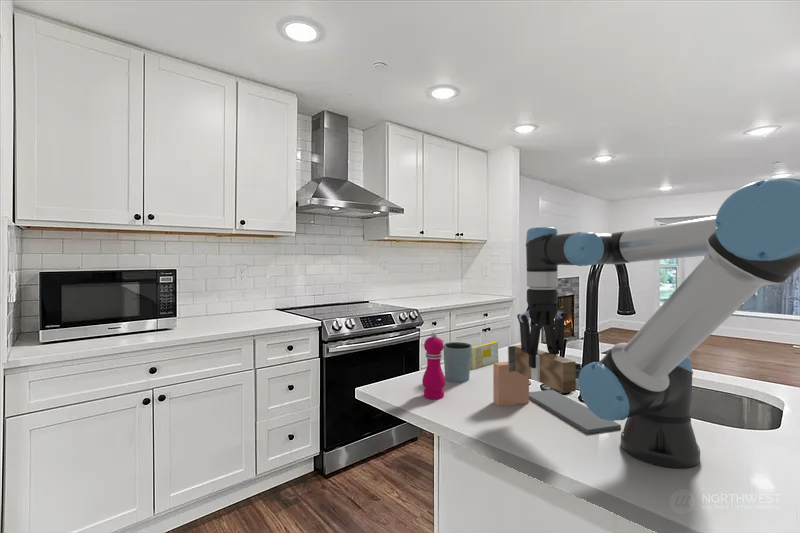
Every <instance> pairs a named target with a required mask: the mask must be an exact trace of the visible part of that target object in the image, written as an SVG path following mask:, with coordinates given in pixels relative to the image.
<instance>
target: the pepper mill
mask: <svg viewBox="0 0 800 533" xmlns="http://www.w3.org/2000/svg"><path fill="white" fill-rule="evenodd" d="M443 345H444V341H443V340H442V339H441V338H440V337H437V333H436V332H435V331H433V332H431V334H430V337H428V338H426V340H425V341H424V344H423V348H424V350H425V351H426V352H425V358H426V369H425V370H424V373H423V376H422V383H421V384H422V387H423V388H424V389H423V396H424V398H426V399H430V400H439V399H443V398H444V396H445V389H444V387H445V386H446V383H447V382H446V379H445V373H444V372H443V369H442V366H441V358H443V356H442V355H443V353H442V352H443V351H444V350H443Z"/></svg>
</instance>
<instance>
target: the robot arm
mask: <svg viewBox="0 0 800 533" xmlns="http://www.w3.org/2000/svg"><path fill="white" fill-rule="evenodd" d="M525 240H526V242H525V250H526V252H525V256H526V259H525V260H526V287H528V288H527V290H526V302H527V303H526V304H527V308H526V310H525V312H523V313H518V314H517V315H516V317H517V319H518V323H519V333H520V345H521V350H522V352H525V353H527V354H528V355H529V367H531V378H530V379H531V380H533V381H535V382H537V383H540V356H539V355H537V352H538V349H539V346H540V345H539V343H540V337H541V331H542V329H544V330H543V331H544V336H545V342H546V349H547V352H548V353H551V354H554V355H559V354H560V351H563V350H564V345H565V344H564V342H565V339H564V338H565V321H566V318H567V316H568V315H567V312H563V311H561V310H559V309H558V306H557V304H558V303H559V300H558V299H559V297H558V296H559V294H558V289H557V287H558V285H559V280H558V276H559V275H558V273H559V272H558V266H559V265H560V266H578V267H584V266H585V267H586V266H592V265H593V266H594V265H595V266H596V265H597V266H598V265H624V264H628V263H637V262H647V261H648V262H649V261H659V260H661V261H663V260H671V259H682V258H685V259H686V258H695V257H697V258H698V257H704V258H703V259H702V261H700V262H699V264H697V266H696V267H695V268H694V270H692V271H691V273H689V274H688V276H687V277H686V278H685V279H684V281H682V283H680V285H679V286H678V287H677V288H676V289H675V291H673V292H672V294H671V295H669V297H668V298H667V299H666V300H665V301H664V302H663V303H662V305H661V306H660V307H659V308H658V309H657V310H656V311H655V312H654V313H653V315H652V316H651V317H650V318H648V320H647V321H646V322H645V324H644V325H643V326H641V327H640V329H639V330H638V331H637V332H636V334H634V335H633V336H632V338H631V339H630V340H629V341H628V342H619V343H618V342H617V343H616V344H615V345H613V346H612V348H611V349H610V350H609V351H608V352H607V353H606V354H605V355H604V357H603V358H601V359H600V360H598V361H592V362H589V363H588V364H586V365H584V366H583V367H582V368H581V370H580V371H579V375H578V380H577V381H578V382H577V384H578V387H579V394H580V396H581V398H582V400H583V403H584V404H585V407H587V408H589V409H590V411H591V412H592V413H594V414H595V415H596V416H598V417H599V418H601V419H604V420H607V421H614V422H616V421H624V420H626V421H625V424H624V428H623V429H622V431H621V434H620V445H621V448H622V449H623V450H624V451H625V453H627V454H628V455H630V456H633V457H634V458H637V459H639V460H640V461H644V462H646V463H649V464H653V465H656V466H659V467H660V466H661V467H667V468H675V469H688V468H692V467H696V466H697V465H699V464H700V462H701V448H700V446H699V444H698V442H697V439H696V435H695V431H694V429H693V426H692V396H693V391H692V390H693V375H694V370H693V362H692V359H691V357H690V356H689V355H691V353H692V352H693V351H695V350H696V349H697V348H698V347H699V346H700V345H701V344H702V343H703V342H704V341H705V340H706V339H708V338H709V337H710V335H712V334H713V333H714V332H715V331H716V330H717V329H718V328H719V327H720V326H721V325H723V323H725V321H727V320H728V318H730V317H731V316H732V315H733V314H734V313H735V312H736V311H738V309H739V308H740V307H742V305H744V303H746V302H747V301H748V300H749V299H750V298H751V297H752V296H754V294H756V292H757V291H758V290H759V289H760V288H762V287H763V286H768V285H773V286H774V285H781V284H783V283H784V282H785V281H786V280H787V279H788V278H789V277H790V276H792V275H793V274H795V272H796V271H797V270H799V269H800V178H799V179H798V178H794V177H793V178H789V177H787V178H786V177H783V178H782V177H780V178H772V179H763V180H758V181H755V182H752V183H751V182H750V183H749V184H746V185H744V186H742V187H740V188H739V189H737V190H736V191H734V192H733V193H732V194H730V195H729V196H728V197H727V198H726V199H724V201H723V202H722V203H721V205H720V207H719V209H718V210H717V213H716V215H715V216H710V217H703V218H697V219H693V220H691V219H689V220H685V221H679V222H673V223H668V224H661V225H655V226H650V227H649V226H648V227H643V228H637V229H631V230H624V231H619V232H612V233H595V232H592V231H591V232H589V231H587V232H586V231H578V232H571V233H561V234H558V229H557V228H556V227H555V226H541V227H540V226H539V227H531V228H528V230H527V231H526V239H525Z"/></svg>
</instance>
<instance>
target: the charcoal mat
mask: <svg viewBox="0 0 800 533" xmlns="http://www.w3.org/2000/svg"><path fill="white" fill-rule="evenodd" d="M529 400H531V401H532V402H534V403H535V404H537V405H539V406H540V407H542V408H544V409H545V410H547V411H549V412H550V413H551V414H552V413H553V414H554V415H556V416H557V417H559V418H560V419H562V420H564V421H566V422H567V423H569V424H570V425H572V426H574V428H575V427H576V428H577V429H579V430H580V431H582V432H584V433H586V434H594V433H602V432H608V431H617V430H621V429H622V425H621V424H619V423H618V422H616V421H607V420H604V419H601V418H599V417H598V416H596V415H595V414H594V413H592V412H591V411H590V409H589V408H588V407H587V406H586V405H583V404H581V403H579V402H577V401H576V400H573V399H572V398H569V397H567V396H566V395H564V394H562V393H559V392H558V391H557V390H555V389H547V390H545V389H544V390H537V391H529Z"/></svg>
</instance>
